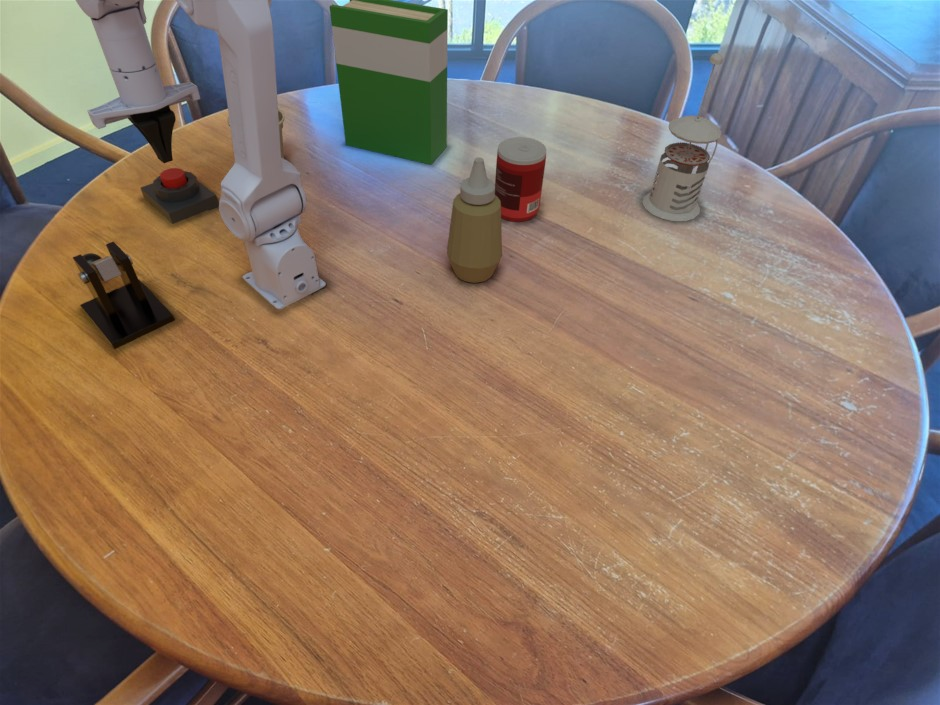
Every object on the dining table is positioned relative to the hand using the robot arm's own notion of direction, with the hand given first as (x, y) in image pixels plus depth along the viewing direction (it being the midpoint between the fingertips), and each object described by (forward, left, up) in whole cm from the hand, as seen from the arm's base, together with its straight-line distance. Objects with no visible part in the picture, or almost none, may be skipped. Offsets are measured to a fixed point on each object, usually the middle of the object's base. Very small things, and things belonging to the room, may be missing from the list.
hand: (165, 159), depth 91 cm
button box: (+5, -2, -10) cm, 11 cm away
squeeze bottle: (-40, -25, -11) cm, 48 cm away
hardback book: (-3, -41, -11) cm, 42 cm away
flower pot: (+7, -19, -11) cm, 22 cm away
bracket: (-16, +16, -10) cm, 25 cm away
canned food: (-33, -42, -11) cm, 54 cm away
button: (+5, -2, -7) cm, 8 cm away
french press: (-50, -64, -11) cm, 82 cm away
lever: (-13, +16, -6) cm, 21 cm away
